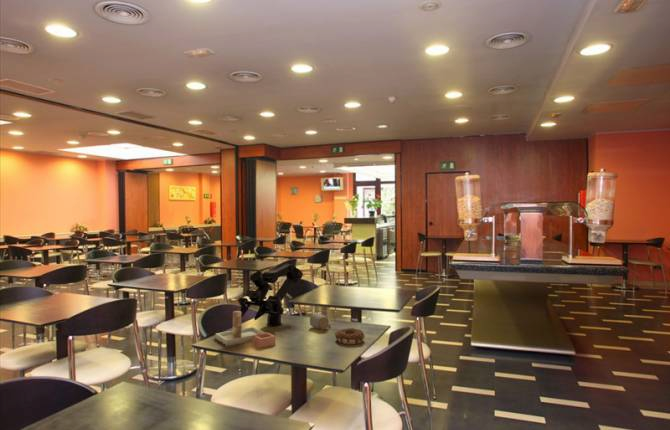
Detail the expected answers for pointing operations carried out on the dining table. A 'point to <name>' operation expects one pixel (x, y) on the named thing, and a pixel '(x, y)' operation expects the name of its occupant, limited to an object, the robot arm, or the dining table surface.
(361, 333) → the donut
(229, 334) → the tray
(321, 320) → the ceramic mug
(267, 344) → the square frame
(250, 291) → the robot arm
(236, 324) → the dowel
